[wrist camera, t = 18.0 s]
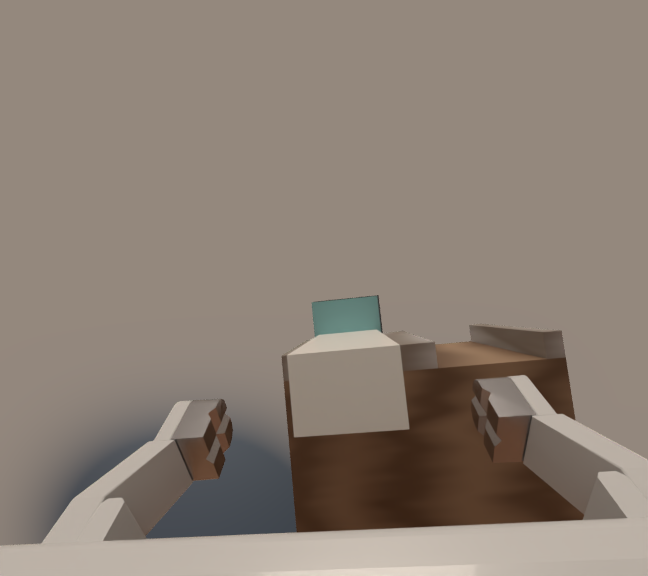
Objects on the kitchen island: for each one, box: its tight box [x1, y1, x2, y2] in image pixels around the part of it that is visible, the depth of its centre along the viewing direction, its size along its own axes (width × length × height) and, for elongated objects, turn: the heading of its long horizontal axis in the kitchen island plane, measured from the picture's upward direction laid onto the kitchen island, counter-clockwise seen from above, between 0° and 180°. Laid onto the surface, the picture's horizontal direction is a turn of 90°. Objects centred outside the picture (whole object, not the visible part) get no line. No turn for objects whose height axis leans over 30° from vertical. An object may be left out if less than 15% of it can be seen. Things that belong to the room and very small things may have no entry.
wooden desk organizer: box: [282, 295, 584, 533], centre depth 24 cm, size 16×12×31 cm
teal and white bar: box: [287, 296, 409, 437], centre depth 20 cm, size 4×20×4 cm, turn 175°
